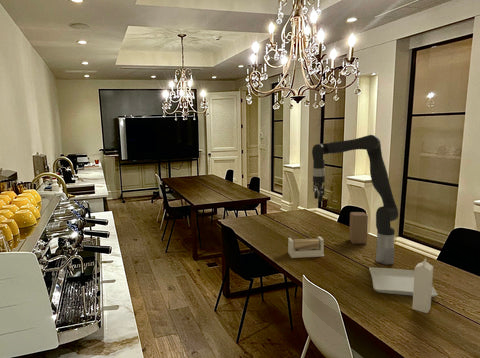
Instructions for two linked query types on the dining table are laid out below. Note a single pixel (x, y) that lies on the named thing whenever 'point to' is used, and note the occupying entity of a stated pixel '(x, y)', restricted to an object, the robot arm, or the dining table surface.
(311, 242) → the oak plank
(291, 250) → the peg cradle
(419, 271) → the milk
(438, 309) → the dining table surface
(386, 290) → the square plate
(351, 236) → the wooden block
